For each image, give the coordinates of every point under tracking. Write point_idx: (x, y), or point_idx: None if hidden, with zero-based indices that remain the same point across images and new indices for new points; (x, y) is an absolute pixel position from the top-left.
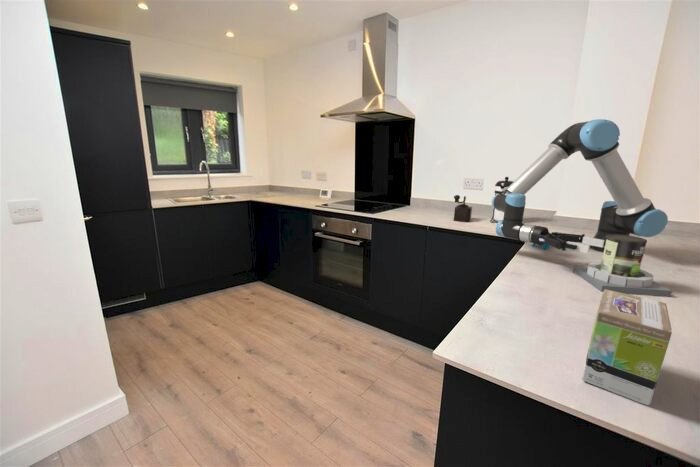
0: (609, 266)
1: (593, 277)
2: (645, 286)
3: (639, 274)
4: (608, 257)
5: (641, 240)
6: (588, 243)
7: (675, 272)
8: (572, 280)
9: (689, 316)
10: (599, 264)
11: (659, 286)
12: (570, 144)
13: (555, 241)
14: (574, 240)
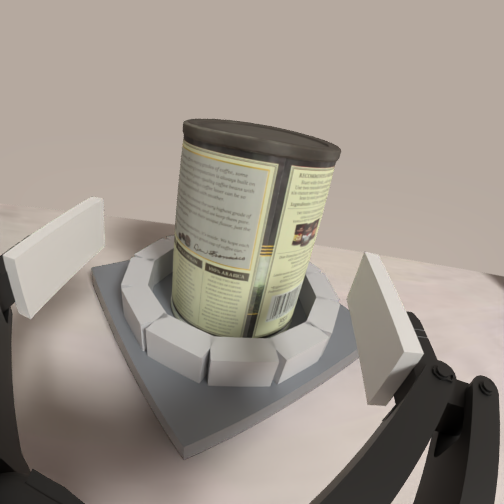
0: (301, 282)
1: (318, 360)
2: None
3: None
4: (307, 252)
5: (260, 127)
6: (55, 281)
7: (26, 220)
8: (351, 432)
9: (340, 251)
10: (187, 324)
11: None
12: None
13: (496, 434)
14: (6, 350)
